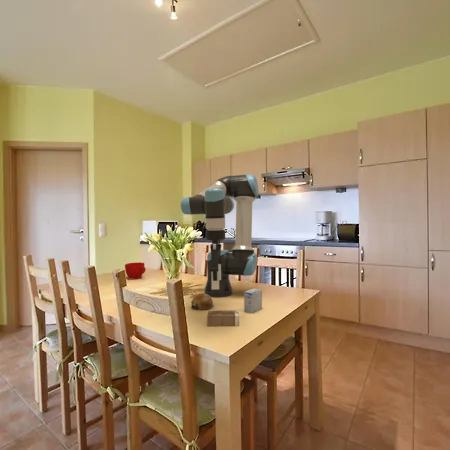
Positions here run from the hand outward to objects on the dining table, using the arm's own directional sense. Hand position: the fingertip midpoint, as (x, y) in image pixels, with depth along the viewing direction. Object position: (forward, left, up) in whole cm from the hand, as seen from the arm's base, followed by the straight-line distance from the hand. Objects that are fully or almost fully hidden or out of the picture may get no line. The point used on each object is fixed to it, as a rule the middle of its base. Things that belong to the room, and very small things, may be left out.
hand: (216, 284), depth 105 cm
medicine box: (-15, +15, -15) cm, 26 cm away
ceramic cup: (-81, -61, -15) cm, 102 cm away
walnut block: (0, -4, -13) cm, 14 cm away
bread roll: (-19, -8, -15) cm, 26 cm away
